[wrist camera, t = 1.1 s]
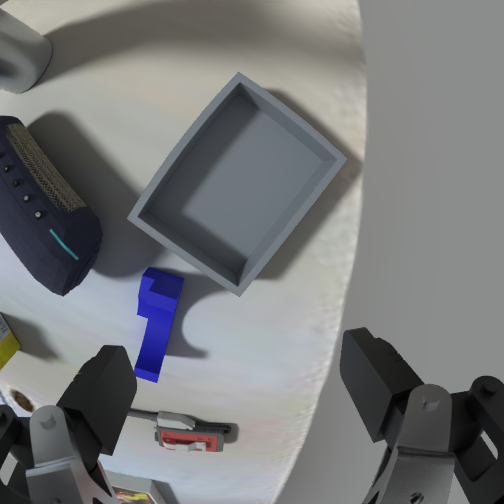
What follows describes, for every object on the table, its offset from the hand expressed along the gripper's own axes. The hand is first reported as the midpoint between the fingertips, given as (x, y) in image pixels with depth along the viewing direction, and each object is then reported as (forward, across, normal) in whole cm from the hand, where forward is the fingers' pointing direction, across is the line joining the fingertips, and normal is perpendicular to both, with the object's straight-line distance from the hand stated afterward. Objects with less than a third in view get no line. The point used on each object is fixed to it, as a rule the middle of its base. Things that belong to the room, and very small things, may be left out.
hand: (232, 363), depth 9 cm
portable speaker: (+21, +24, -9) cm, 33 cm away
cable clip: (+22, +11, +9) cm, 26 cm away
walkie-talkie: (+23, +14, +32) cm, 42 cm away
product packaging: (+22, +42, +66) cm, 81 cm away
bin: (+22, -1, -6) cm, 23 cm away
